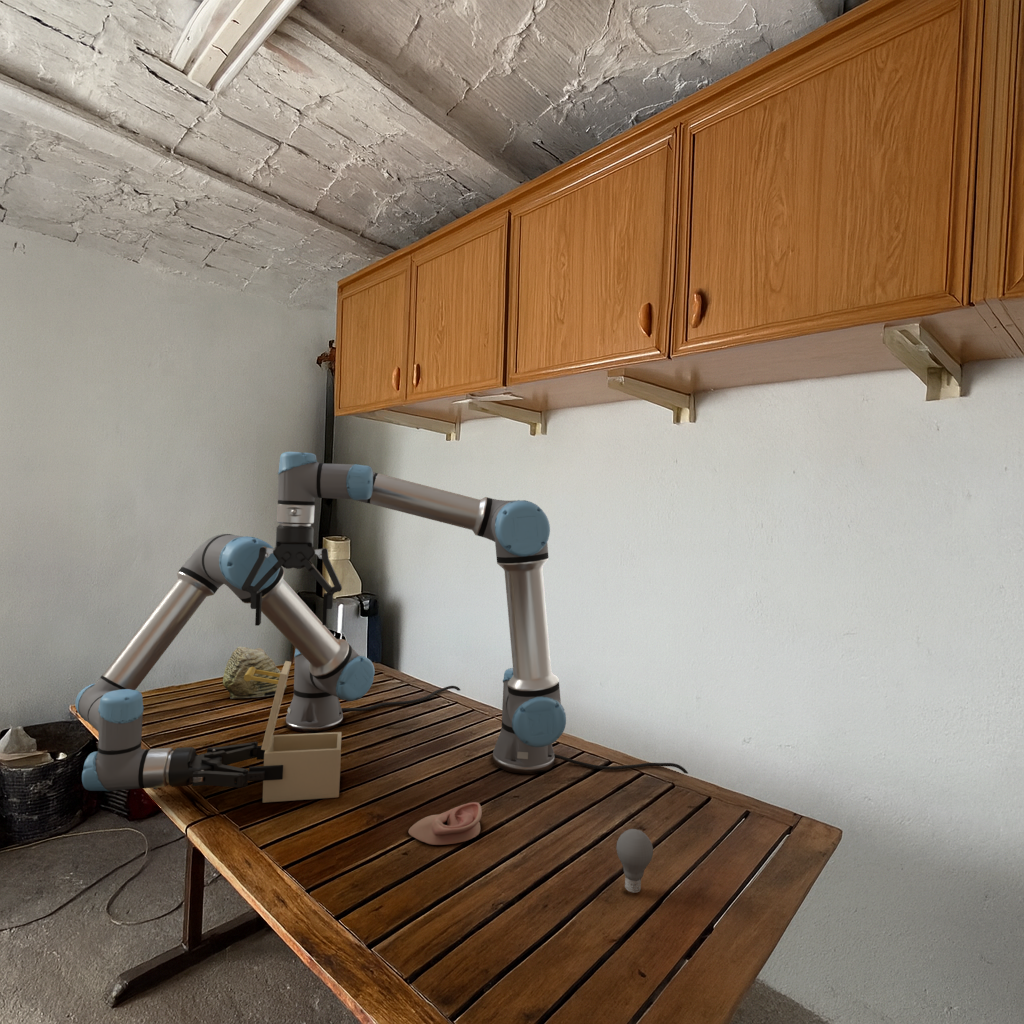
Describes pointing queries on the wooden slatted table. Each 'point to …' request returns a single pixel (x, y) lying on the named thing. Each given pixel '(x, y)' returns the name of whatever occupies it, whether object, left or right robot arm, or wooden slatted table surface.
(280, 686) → the lid
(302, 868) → the wooden slatted table surface
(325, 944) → the wooden slatted table surface
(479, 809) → the anatomical model
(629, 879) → the light bulb
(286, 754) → the chest
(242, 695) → the fossil
